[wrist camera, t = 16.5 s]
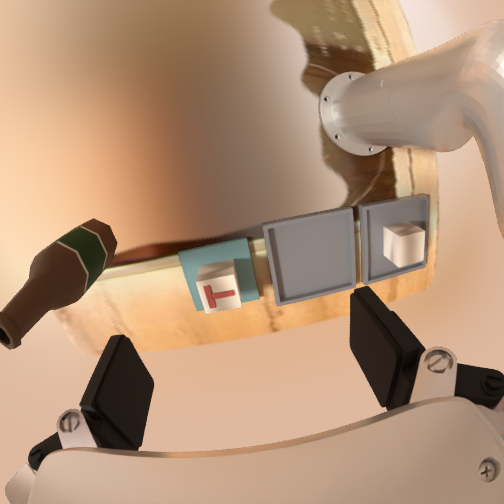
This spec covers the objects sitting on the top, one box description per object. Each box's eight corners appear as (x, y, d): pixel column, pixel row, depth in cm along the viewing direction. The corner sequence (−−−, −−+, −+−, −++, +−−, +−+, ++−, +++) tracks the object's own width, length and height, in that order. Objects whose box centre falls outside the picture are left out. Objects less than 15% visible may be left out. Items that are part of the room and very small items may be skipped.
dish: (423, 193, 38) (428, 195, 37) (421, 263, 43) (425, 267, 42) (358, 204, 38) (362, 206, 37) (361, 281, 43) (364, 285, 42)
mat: (246, 236, 39) (246, 238, 38) (259, 296, 42) (259, 298, 42) (178, 251, 39) (177, 253, 38) (197, 308, 42) (197, 311, 42)
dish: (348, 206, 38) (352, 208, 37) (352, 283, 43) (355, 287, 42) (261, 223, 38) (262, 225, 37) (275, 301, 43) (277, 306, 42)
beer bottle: (128, 242, 37) (42, 349, 15) (101, 273, 39) (24, 379, 17) (93, 206, 35) (-20, 280, 13) (69, 240, 36) (-28, 324, 14)
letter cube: (233, 258, 39) (234, 275, 34) (240, 288, 41) (242, 307, 36) (199, 265, 39) (195, 282, 34) (208, 295, 41) (205, 314, 36)
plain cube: (407, 221, 39) (425, 230, 35) (406, 248, 41) (423, 260, 37) (383, 226, 39) (400, 236, 35) (383, 255, 41) (399, 267, 37)
